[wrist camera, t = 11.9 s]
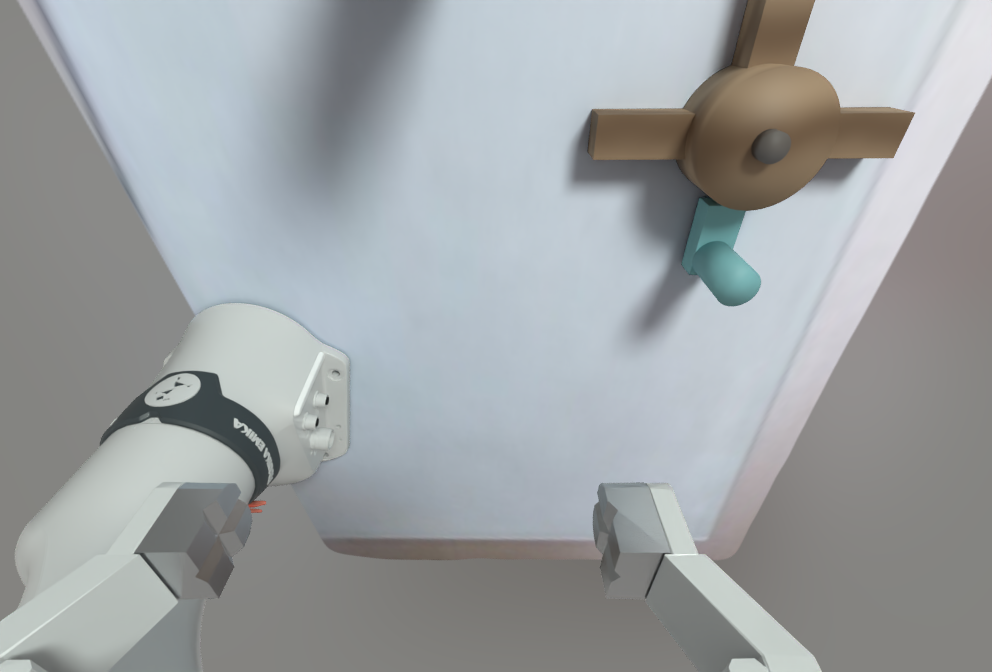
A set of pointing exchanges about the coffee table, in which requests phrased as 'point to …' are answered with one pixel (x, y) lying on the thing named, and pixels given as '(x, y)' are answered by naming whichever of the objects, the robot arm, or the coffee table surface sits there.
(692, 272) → the teal crank handle
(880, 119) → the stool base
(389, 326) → the coffee table surface
